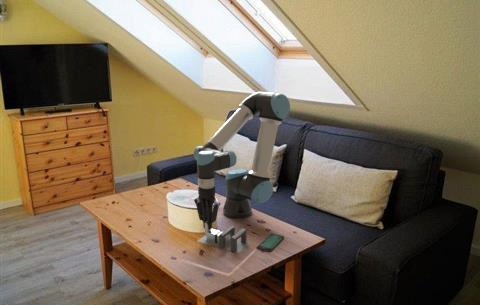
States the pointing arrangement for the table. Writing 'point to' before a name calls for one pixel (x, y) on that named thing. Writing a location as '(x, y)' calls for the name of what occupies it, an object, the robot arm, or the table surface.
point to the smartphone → (270, 242)
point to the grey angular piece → (234, 243)
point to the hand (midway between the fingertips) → (208, 235)
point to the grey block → (216, 236)
